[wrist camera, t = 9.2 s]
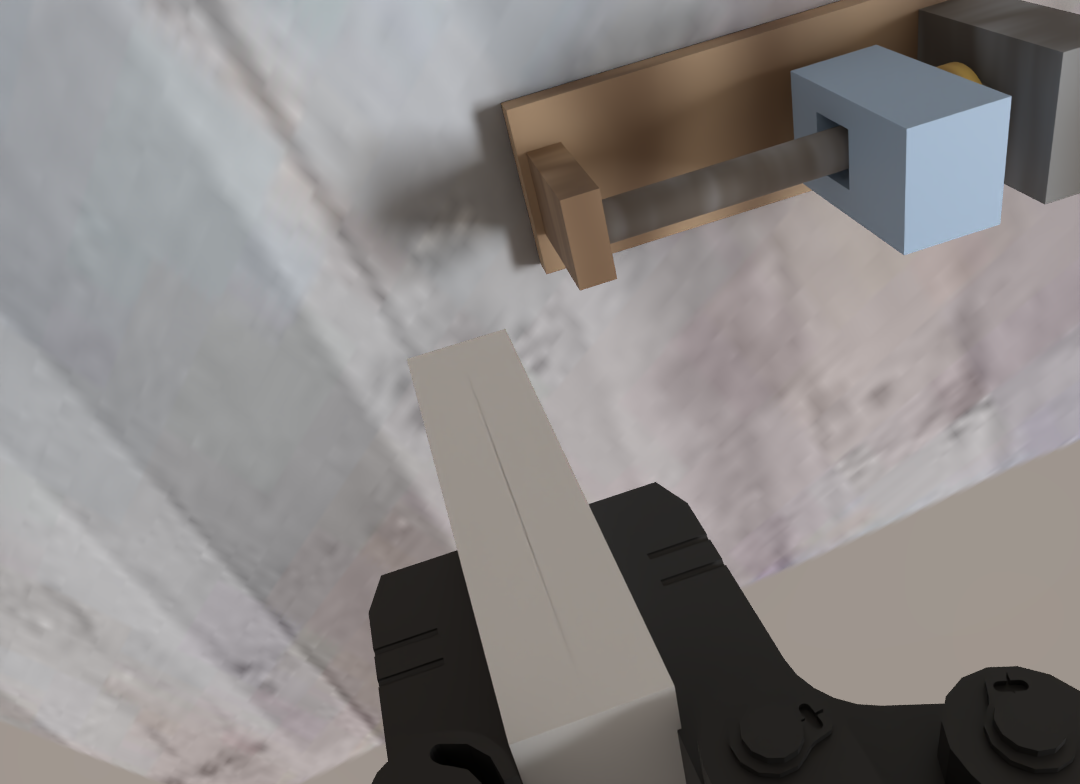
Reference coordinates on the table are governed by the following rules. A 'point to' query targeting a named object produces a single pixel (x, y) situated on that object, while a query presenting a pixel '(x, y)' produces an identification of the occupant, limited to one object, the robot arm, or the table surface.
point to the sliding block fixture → (770, 121)
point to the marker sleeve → (907, 145)
